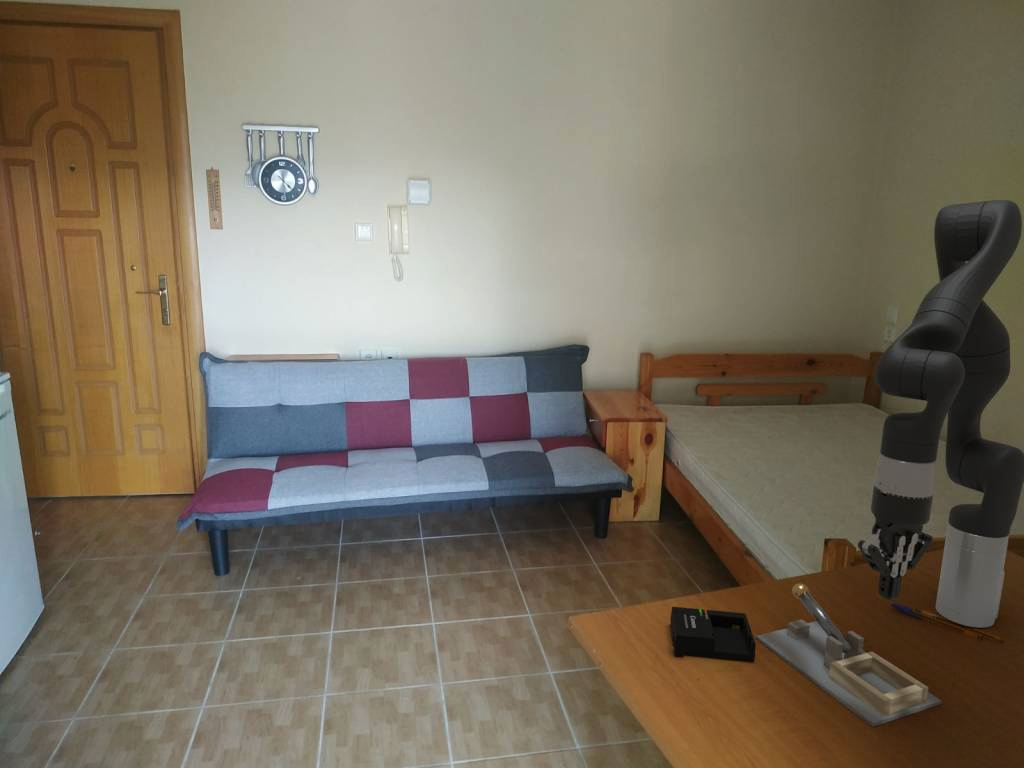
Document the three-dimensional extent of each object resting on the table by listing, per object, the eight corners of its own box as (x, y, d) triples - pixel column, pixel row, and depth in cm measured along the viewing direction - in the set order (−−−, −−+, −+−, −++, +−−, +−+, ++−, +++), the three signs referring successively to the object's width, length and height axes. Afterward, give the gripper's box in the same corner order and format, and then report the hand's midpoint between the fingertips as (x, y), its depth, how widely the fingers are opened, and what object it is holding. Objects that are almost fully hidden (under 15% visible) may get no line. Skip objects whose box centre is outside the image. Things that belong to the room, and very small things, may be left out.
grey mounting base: (816, 623, 126) (820, 595, 125) (940, 704, 104) (946, 670, 103) (755, 639, 121) (758, 609, 119) (872, 726, 99) (877, 691, 98)
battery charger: (673, 656, 116) (675, 635, 115) (669, 626, 125) (671, 605, 124) (754, 665, 114) (756, 643, 113) (744, 633, 123) (746, 612, 122)
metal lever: (798, 588, 122) (804, 579, 120) (851, 654, 112) (858, 645, 111) (786, 591, 121) (792, 581, 119) (838, 658, 111) (846, 648, 110)
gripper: (912, 473, 106) (897, 578, 109) (848, 482, 101) (834, 592, 104) (959, 489, 99) (942, 601, 102) (893, 500, 94) (877, 617, 97)
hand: (888, 596), depth 103 cm, fingers closed
